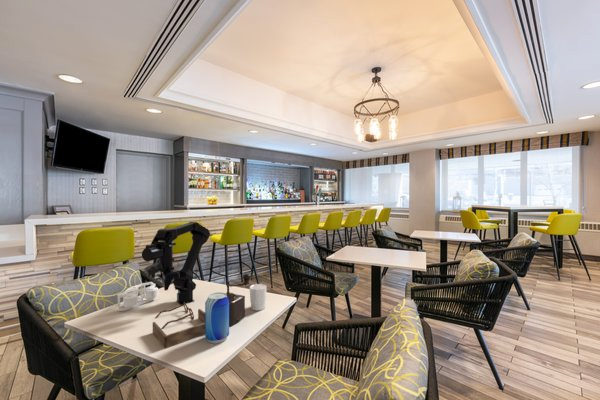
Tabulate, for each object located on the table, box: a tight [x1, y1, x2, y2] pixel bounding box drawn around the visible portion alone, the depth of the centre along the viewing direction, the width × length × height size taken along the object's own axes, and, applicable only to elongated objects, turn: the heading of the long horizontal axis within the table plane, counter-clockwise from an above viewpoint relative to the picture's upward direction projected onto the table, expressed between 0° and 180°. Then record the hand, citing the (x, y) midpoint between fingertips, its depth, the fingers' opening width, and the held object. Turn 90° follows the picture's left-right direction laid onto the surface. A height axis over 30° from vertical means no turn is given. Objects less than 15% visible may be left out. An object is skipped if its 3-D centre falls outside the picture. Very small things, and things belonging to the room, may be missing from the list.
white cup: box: [249, 283, 268, 311], centre depth 128 cm, size 8×8×10 cm
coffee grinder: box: [224, 273, 252, 328], centre depth 118 cm, size 16×11×18 cm
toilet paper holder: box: [116, 281, 159, 312], centre depth 134 cm, size 20×11×7 cm, turn 155°
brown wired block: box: [152, 308, 205, 349], centre depth 105 cm, size 19×15×4 cm
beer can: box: [204, 292, 230, 344], centre depth 100 cm, size 8×8×16 cm
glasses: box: [154, 302, 195, 330], centre depth 116 cm, size 13×13×5 cm
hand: (166, 290), depth 125 cm, fingers closed
